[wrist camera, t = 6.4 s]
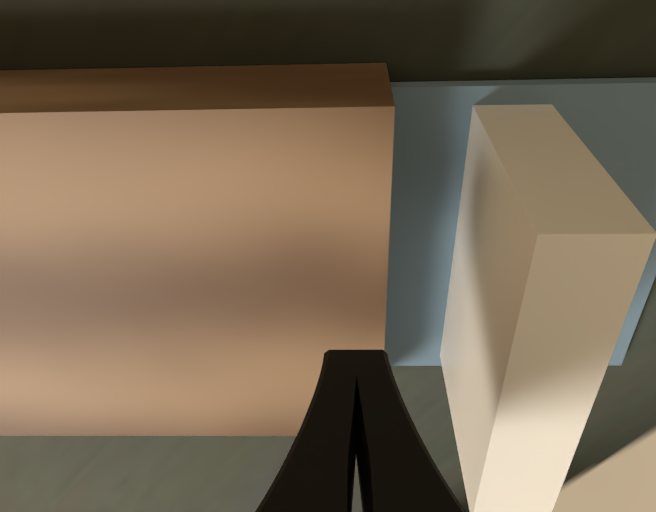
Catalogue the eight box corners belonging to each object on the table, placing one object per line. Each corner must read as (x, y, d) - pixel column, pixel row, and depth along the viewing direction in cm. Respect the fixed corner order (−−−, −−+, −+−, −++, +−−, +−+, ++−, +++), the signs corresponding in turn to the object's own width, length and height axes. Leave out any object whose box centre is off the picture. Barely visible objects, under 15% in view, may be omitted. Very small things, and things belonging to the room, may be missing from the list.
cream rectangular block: (439, 355, 20) (497, 355, 20) (471, 521, 15) (548, 522, 15) (472, 105, 15) (551, 104, 14) (537, 234, 10) (657, 234, 10)
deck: (376, 367, 21) (380, 436, 18) (0, 367, 21) (-45, 435, 19) (386, 62, 14) (394, 106, 12) (-152, 73, 15) (-250, 117, 12)
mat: (616, 356, 20) (621, 365, 20) (376, 357, 20) (377, 365, 20) (722, 76, 14) (731, 81, 14) (385, 82, 15) (386, 87, 14)
